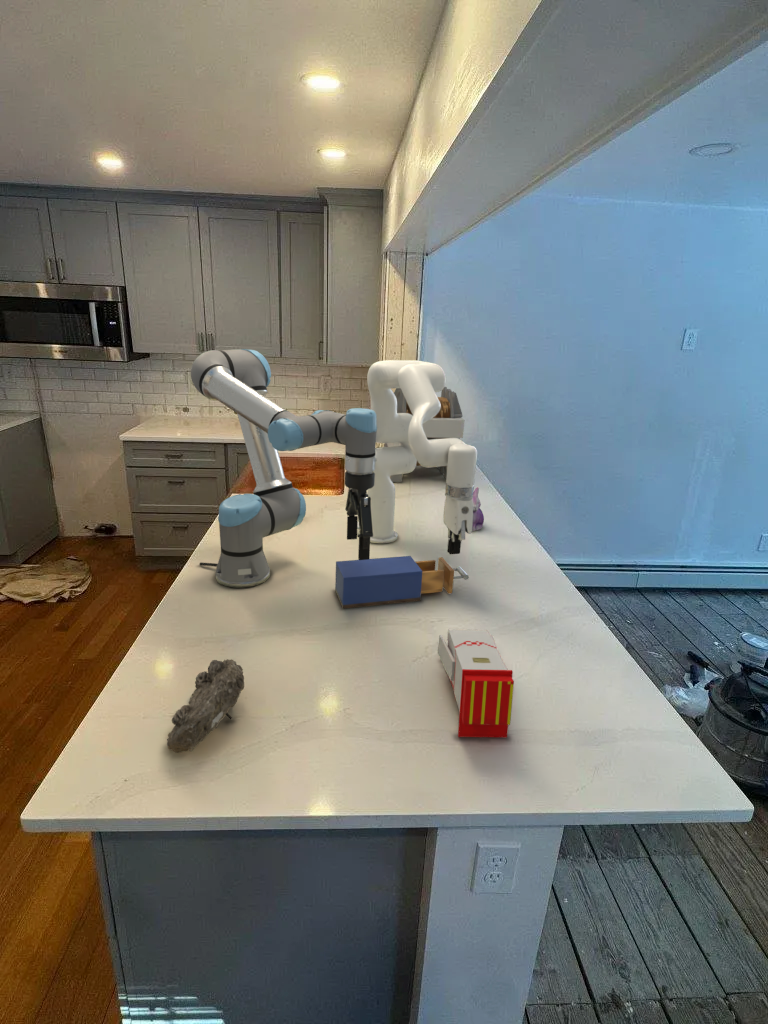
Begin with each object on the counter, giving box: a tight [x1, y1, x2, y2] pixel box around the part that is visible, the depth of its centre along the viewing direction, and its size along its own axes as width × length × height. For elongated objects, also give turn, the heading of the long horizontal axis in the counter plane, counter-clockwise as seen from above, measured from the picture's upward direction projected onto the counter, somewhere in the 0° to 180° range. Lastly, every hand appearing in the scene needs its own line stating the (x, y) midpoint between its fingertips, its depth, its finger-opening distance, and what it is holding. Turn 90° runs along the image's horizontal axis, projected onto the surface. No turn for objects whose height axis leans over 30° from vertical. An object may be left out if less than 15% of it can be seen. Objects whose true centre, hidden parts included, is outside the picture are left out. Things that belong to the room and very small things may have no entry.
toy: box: [437, 628, 515, 738], centre depth 117 cm, size 12×13×30 cm
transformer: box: [383, 386, 465, 483], centre depth 268 cm, size 34×33×41 cm
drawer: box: [414, 556, 470, 595], centre depth 158 cm, size 26×9×7 cm, turn 106°
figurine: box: [472, 486, 485, 532], centre depth 206 cm, size 9×10×15 cm
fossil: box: [166, 658, 245, 754], centre depth 106 cm, size 22×10×15 cm
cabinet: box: [334, 555, 422, 610], centre depth 155 cm, size 22×10×9 cm, turn 106°
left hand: (357, 548), depth 150 cm, fingers open, 13 cm apart
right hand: (453, 552), depth 158 cm, fingers closed
